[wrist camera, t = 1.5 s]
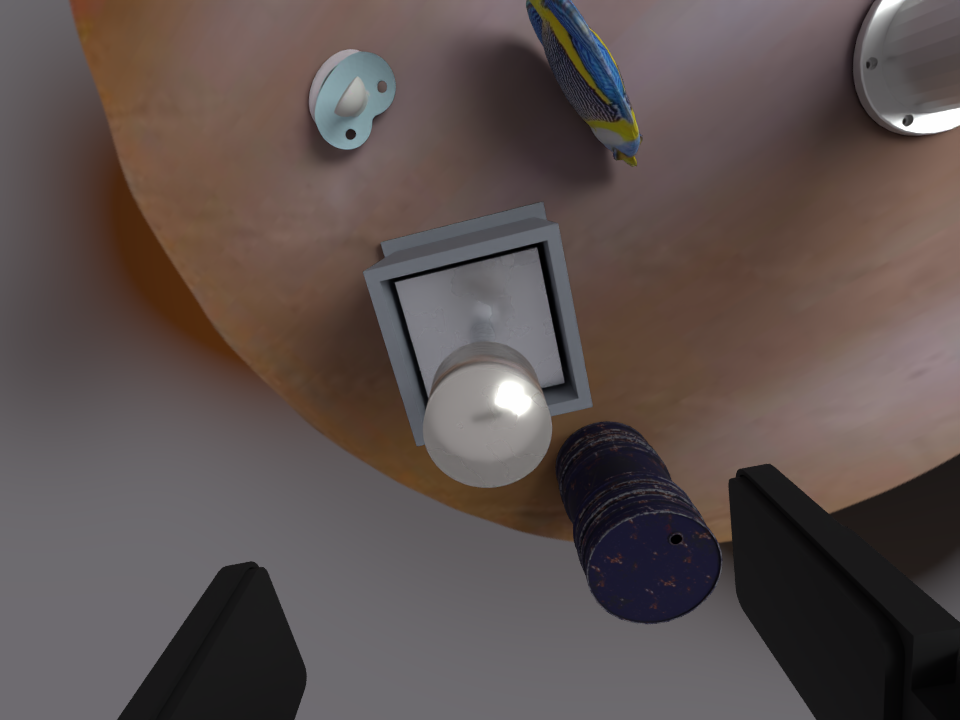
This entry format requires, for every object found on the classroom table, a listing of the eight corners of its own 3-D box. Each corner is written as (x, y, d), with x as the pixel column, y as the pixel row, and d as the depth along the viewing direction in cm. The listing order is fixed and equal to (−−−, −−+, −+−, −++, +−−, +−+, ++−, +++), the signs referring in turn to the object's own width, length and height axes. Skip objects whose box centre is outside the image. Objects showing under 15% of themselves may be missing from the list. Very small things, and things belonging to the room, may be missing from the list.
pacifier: (295, 113, 41) (357, 162, 42) (262, 96, 35) (334, 153, 36) (346, 31, 39) (408, 84, 40) (320, -1, 33) (394, 62, 34)
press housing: (541, 201, 43) (571, 201, 30) (572, 355, 47) (610, 417, 34) (382, 241, 44) (341, 259, 31) (425, 389, 48) (406, 462, 35)
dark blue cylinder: (620, 523, 53) (674, 643, 38) (536, 486, 51) (560, 596, 37) (673, 445, 50) (752, 542, 36) (586, 403, 49) (632, 488, 34)
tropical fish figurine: (642, 155, 42) (691, 141, 33) (610, 180, 43) (649, 175, 33) (526, -18, 38) (543, -91, 29) (493, 13, 39) (499, -49, 29)
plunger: (535, 246, 33) (586, 284, 18) (562, 378, 36) (626, 507, 21) (397, 280, 34) (332, 344, 19) (433, 407, 37) (404, 554, 21)
